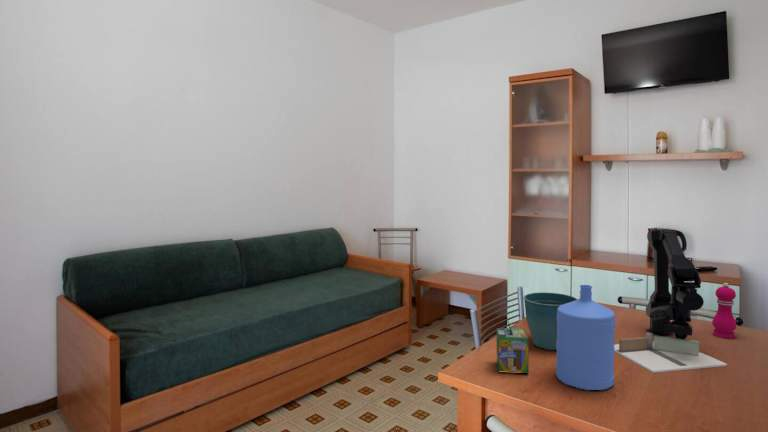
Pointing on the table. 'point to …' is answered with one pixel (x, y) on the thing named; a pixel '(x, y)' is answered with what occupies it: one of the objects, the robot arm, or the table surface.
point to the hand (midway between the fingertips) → (679, 345)
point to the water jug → (585, 343)
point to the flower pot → (544, 317)
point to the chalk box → (512, 350)
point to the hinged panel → (676, 345)
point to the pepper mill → (724, 313)
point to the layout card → (661, 356)
